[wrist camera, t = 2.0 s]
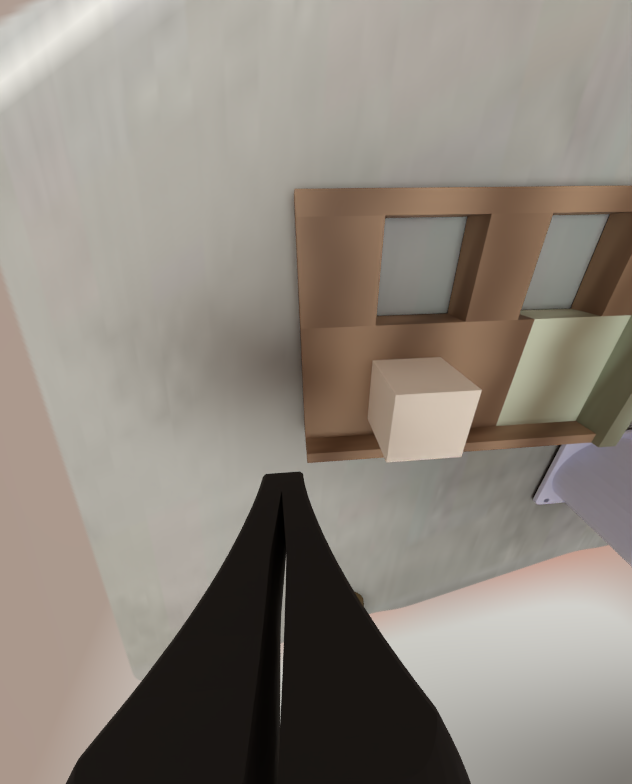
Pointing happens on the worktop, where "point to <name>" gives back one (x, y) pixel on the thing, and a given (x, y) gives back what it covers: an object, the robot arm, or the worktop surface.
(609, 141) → the worktop surface
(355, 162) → the worktop surface
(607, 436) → the trap deck
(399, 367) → the cream block
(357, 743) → the robot arm
